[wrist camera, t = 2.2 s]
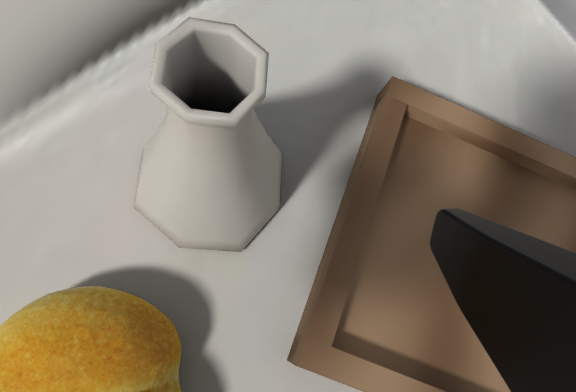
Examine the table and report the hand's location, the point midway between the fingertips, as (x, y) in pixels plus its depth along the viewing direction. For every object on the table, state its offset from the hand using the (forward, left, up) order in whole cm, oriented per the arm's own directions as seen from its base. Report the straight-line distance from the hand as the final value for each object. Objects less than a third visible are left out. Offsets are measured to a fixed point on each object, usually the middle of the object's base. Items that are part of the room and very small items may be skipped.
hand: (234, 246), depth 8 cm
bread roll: (+3, +6, -12) cm, 14 cm away
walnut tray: (-12, -5, -11) cm, 17 cm away
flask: (+2, -4, -12) cm, 13 cm away
